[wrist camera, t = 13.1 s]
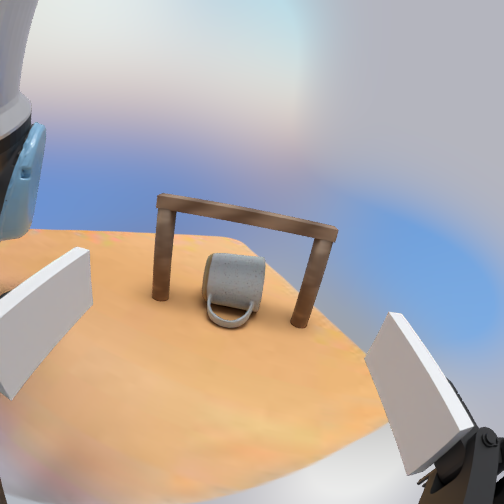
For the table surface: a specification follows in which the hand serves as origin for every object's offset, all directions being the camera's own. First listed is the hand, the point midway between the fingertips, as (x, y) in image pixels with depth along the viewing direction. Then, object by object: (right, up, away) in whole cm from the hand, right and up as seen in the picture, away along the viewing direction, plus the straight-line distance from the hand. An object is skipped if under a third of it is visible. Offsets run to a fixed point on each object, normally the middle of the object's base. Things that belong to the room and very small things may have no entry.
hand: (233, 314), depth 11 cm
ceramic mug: (-2, -6, +28) cm, 29 cm away
